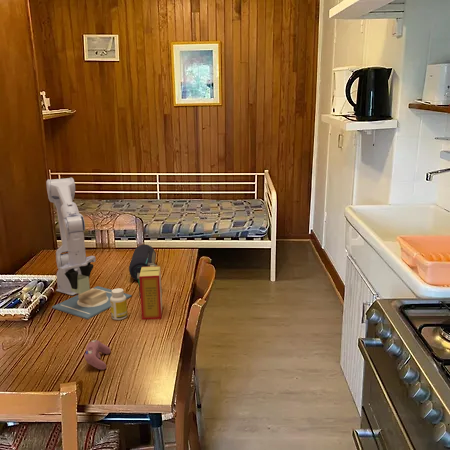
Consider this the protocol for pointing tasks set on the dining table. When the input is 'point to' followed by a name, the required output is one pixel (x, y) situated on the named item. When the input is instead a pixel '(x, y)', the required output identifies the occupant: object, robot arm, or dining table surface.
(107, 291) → the board
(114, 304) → the supplement bottle
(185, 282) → the dining table surface
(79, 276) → the sage block
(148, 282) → the baking soda box
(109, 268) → the dining table surface
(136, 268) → the portable speaker
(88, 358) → the video game controller
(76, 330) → the dining table surface
